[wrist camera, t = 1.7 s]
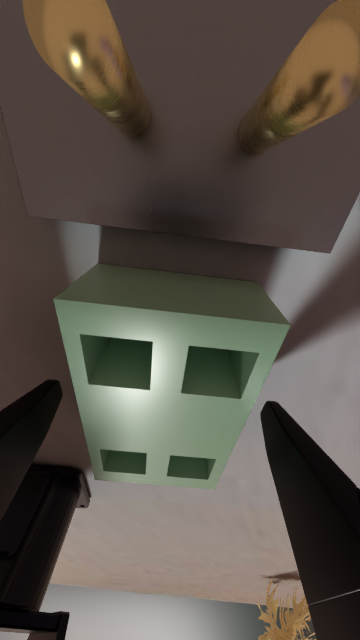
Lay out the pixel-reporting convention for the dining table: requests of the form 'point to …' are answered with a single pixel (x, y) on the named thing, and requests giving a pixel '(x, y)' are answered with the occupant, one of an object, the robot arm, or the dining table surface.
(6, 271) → the dining table surface
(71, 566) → the dining table surface
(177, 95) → the grey peg plate
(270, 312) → the green block with holes
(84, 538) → the dining table surface
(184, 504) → the dining table surface
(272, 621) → the straw tuft
